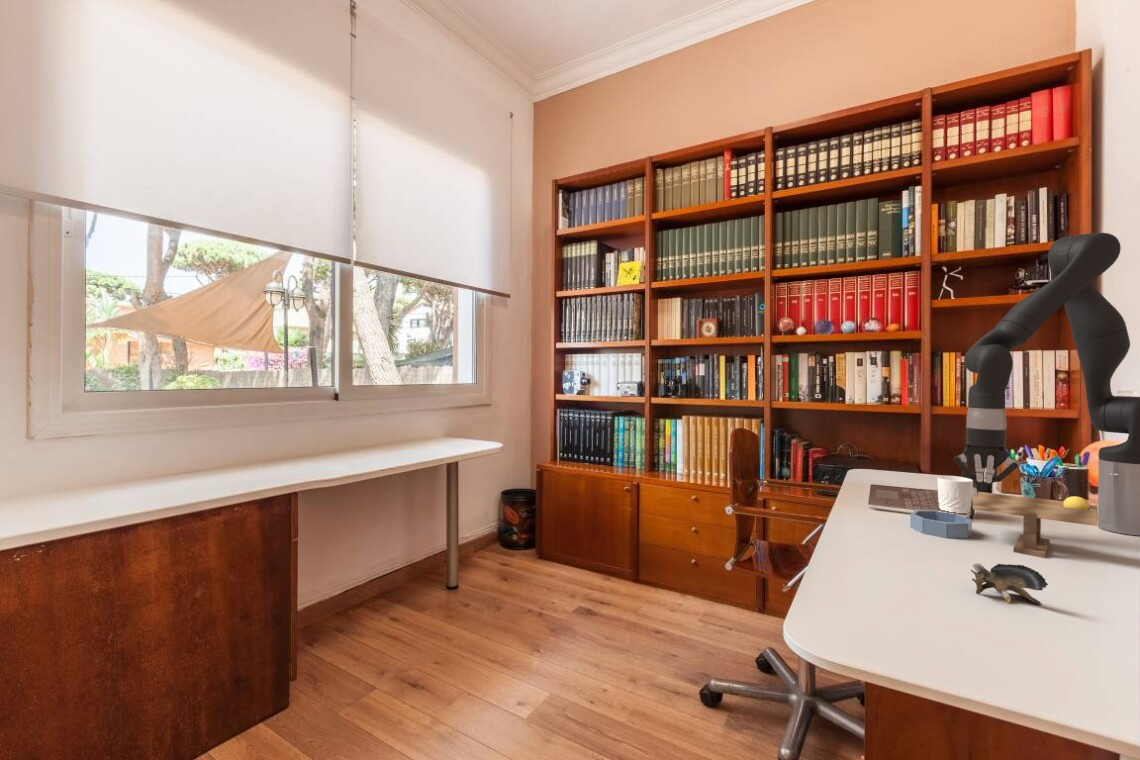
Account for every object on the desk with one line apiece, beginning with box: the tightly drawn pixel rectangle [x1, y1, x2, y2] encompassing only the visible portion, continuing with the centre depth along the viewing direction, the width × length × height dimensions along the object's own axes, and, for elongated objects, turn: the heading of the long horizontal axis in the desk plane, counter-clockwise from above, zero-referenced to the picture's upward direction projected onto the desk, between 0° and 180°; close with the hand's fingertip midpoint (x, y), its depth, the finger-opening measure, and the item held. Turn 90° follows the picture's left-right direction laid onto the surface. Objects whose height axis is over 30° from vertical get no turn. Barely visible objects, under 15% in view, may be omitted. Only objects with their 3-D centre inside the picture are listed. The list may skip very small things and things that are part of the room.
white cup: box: [936, 475, 974, 513], centre depth 140 cm, size 8×8×10 cm
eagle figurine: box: [970, 562, 1049, 605], centre depth 88 cm, size 8×7×9 cm
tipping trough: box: [972, 492, 1098, 527], centre depth 115 cm, size 20×13×3 cm, turn 43°
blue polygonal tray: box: [910, 509, 973, 539], centre depth 126 cm, size 12×12×4 cm
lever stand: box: [1012, 512, 1051, 559], centre depth 113 cm, size 5×13×9 cm, turn 133°
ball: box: [1063, 495, 1091, 510], centre depth 108 cm, size 4×4×4 cm
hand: (984, 497), depth 124 cm, fingers closed
